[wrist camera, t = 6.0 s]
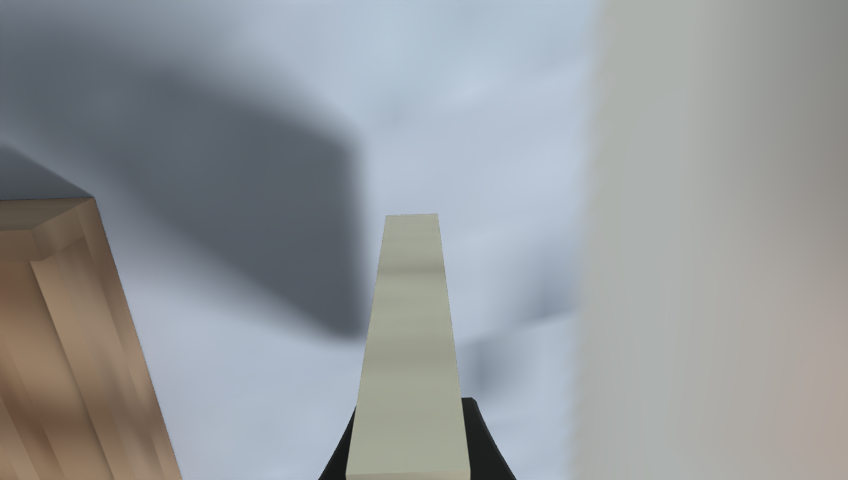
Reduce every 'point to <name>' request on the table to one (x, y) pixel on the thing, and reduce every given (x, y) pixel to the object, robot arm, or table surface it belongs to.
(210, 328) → the table surface
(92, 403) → the walnut rack
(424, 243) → the birch block
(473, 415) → the robot arm
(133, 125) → the table surface
